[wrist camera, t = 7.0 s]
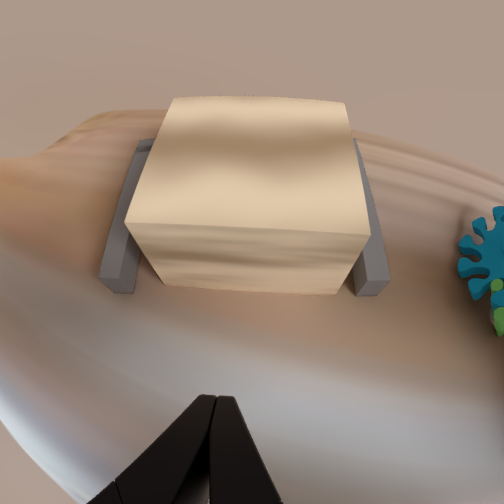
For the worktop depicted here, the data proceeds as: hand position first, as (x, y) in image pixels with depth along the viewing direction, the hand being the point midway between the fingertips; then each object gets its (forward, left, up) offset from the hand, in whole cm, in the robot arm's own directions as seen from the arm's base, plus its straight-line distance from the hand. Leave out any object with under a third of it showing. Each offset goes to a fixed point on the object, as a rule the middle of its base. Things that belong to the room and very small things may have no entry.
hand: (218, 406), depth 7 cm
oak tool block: (+12, -1, -10) cm, 16 cm away
